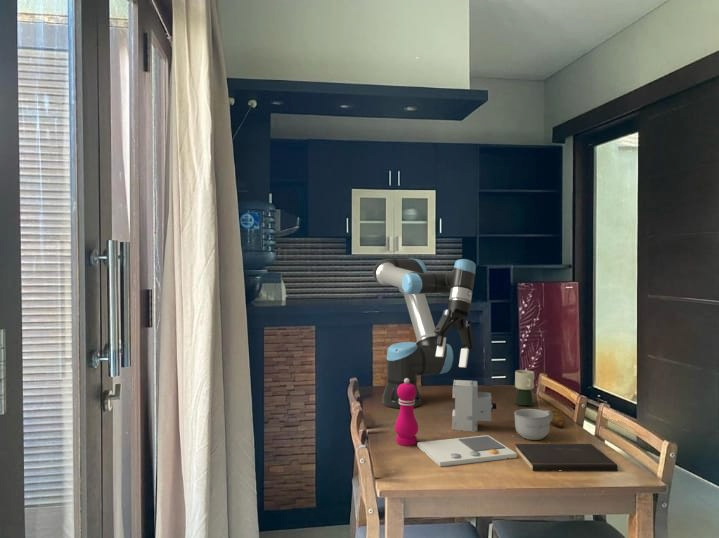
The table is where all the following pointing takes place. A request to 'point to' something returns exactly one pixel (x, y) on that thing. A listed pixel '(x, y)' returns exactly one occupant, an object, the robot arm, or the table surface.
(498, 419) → the table surface
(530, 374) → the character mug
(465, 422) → the circuit breaker
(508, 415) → the table surface
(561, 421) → the croissant
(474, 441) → the board
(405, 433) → the pepper mill
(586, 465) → the hardcover book
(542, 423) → the teacup
